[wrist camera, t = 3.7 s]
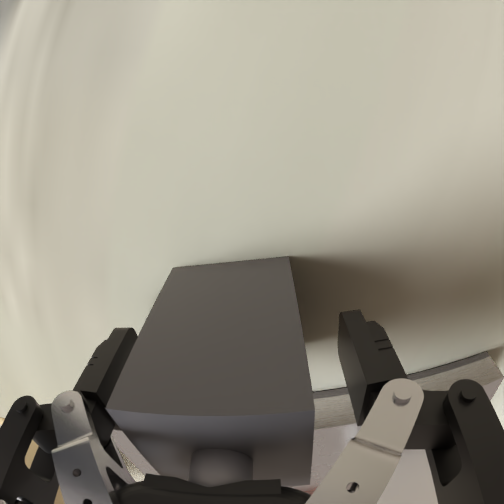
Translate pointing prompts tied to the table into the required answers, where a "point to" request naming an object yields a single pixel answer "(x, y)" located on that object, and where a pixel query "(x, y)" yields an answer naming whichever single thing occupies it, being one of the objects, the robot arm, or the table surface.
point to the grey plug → (221, 378)
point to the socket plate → (342, 415)
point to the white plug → (410, 481)
